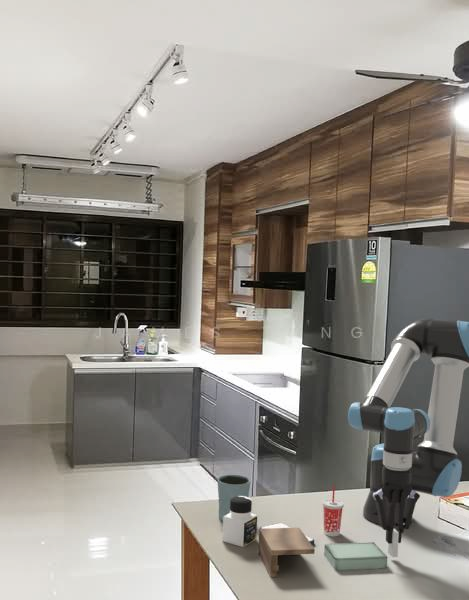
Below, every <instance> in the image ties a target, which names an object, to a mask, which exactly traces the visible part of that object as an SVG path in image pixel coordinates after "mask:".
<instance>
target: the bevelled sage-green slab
mask: <svg viewBox="0 0 469 600" xmlns="http://www.w3.org/2000/svg"><path fill="white" fill-rule="evenodd" d="M323 550H324V552H323V556H324V557H325V558H326V560H327V561H328V563H329V564H330V565H331V567H332V568H333V569H334V570H335V571H343V570H344V571H346V570H367V569H368V570H369V569H371V570H372V569H388V555H387V554H386V553H385V552H384V551H383V550H382V549H381V548H380V547H379V545H378V544H376V542H353V543H351V542H349V543H348V542H345V543H343V542H342V543H325V544H324V549H323Z"/></svg>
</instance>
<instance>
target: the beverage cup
mask: <svg viewBox="0 0 469 600" xmlns="http://www.w3.org/2000/svg"><path fill="white" fill-rule="evenodd" d="M335 489H336V487H335V485H332V499H324V500H323V501H322V506H323V535H325V536H328V537H338V536H340V534H341V524H342V515H343V508H344V505H345V504H344V502H343V501H341V500H337V499H335Z"/></svg>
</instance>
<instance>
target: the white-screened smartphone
mask: <svg viewBox="0 0 469 600" xmlns="http://www.w3.org/2000/svg"><path fill="white" fill-rule="evenodd" d="M267 528H292V527H290V526H289V525H287V524H285V523H282V522H280V523H279V522H278V523H273V524H269V525H264V526H260V527H259V529H267ZM304 535H305V536H306V538H307V539H308V540H309V542H310V543H311V545H312V546H314V545H315V539H314V538H312V537H310V536H308V535H306V534H304Z"/></svg>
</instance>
